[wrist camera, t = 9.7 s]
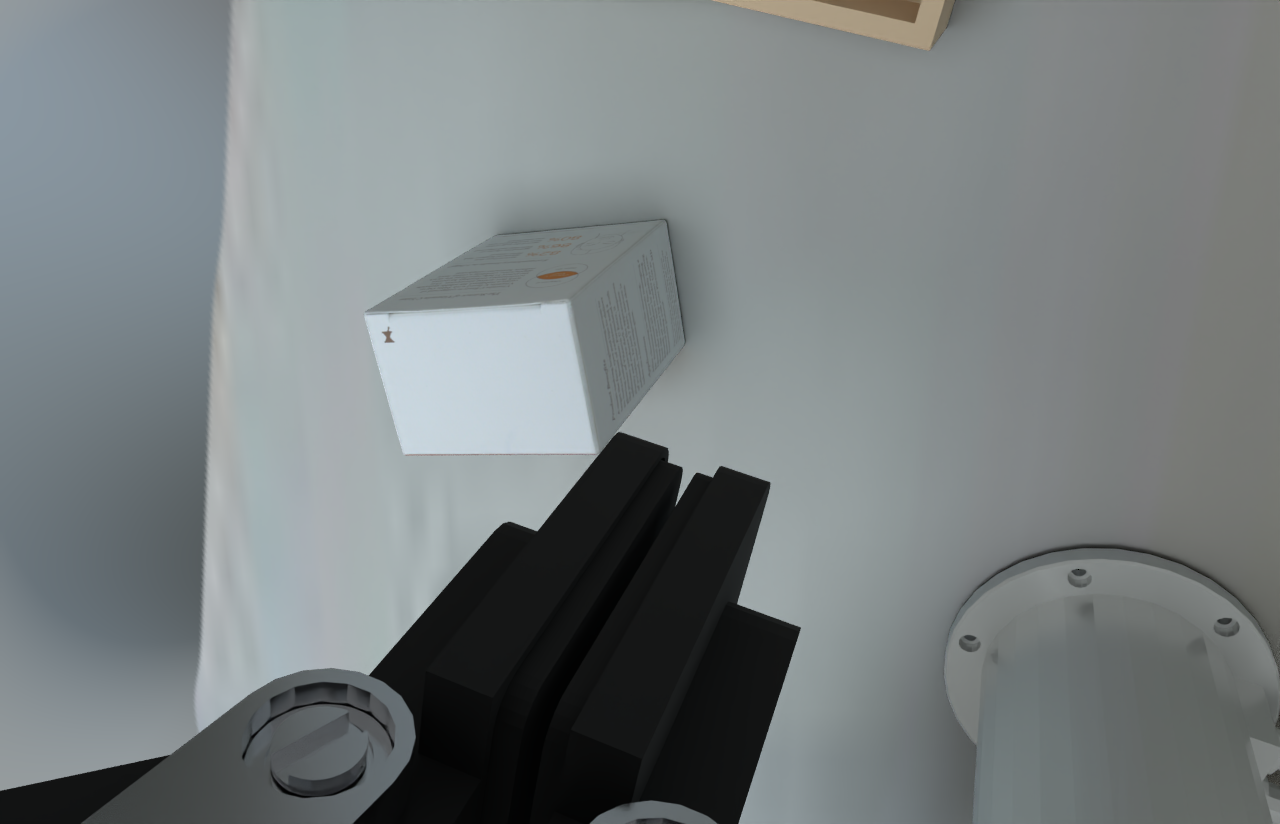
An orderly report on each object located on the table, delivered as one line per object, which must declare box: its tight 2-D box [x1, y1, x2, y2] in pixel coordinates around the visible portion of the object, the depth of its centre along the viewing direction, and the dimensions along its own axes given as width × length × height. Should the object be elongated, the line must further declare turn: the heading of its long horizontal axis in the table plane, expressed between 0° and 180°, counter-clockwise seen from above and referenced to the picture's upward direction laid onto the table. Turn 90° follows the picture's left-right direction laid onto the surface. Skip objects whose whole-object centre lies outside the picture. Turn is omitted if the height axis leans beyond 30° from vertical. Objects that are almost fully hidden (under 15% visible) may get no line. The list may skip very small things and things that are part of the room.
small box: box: [364, 220, 685, 455], centre depth 38 cm, size 8×6×10 cm
